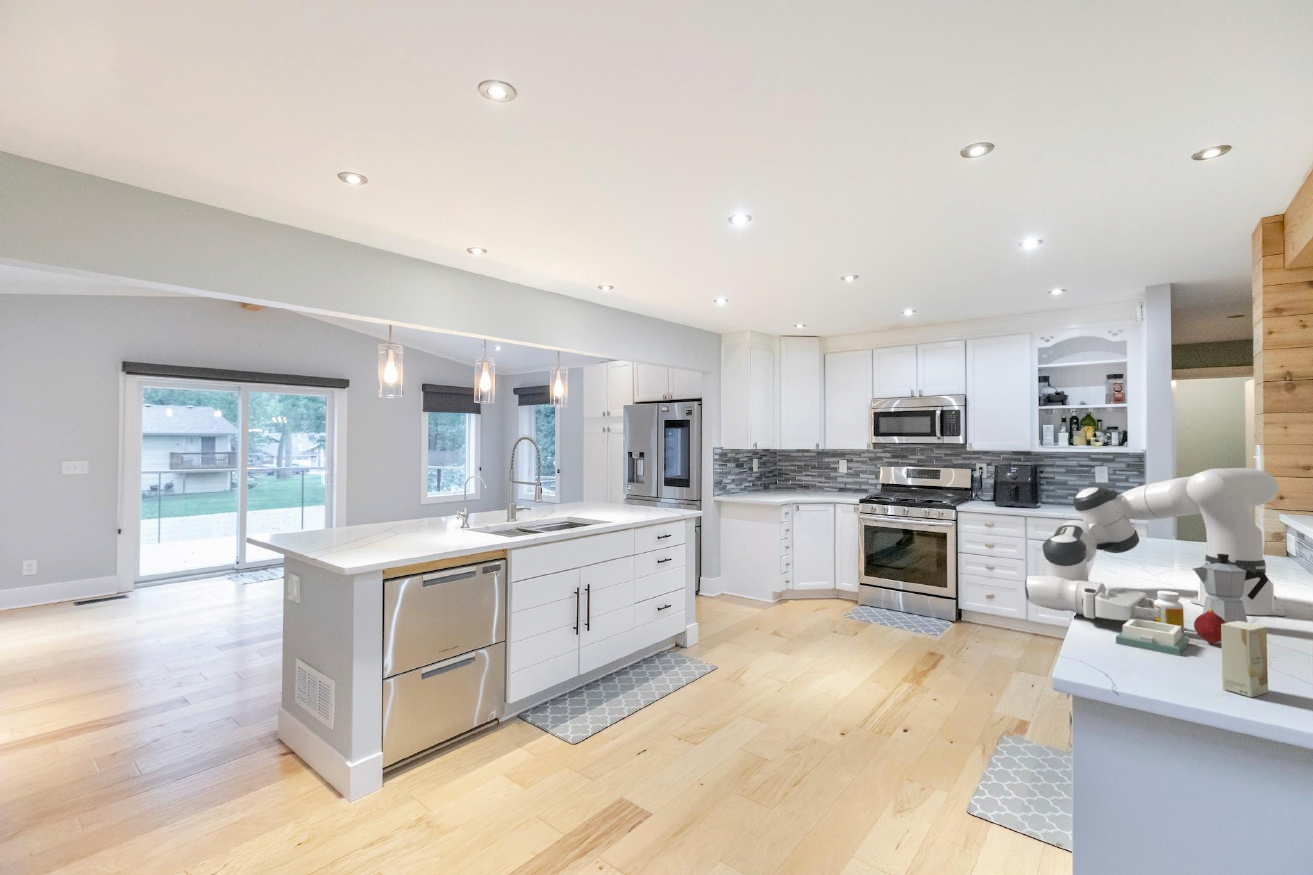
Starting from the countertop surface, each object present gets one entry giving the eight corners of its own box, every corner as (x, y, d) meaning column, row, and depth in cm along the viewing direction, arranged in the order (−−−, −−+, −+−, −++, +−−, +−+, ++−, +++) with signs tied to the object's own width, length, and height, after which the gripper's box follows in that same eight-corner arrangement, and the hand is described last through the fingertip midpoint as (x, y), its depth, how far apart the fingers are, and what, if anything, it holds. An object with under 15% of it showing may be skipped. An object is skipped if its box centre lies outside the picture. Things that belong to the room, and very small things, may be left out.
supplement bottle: (1188, 634, 142) (1187, 593, 142) (1177, 637, 140) (1176, 596, 140) (1161, 628, 147) (1160, 588, 147) (1150, 631, 145) (1149, 591, 145)
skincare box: (1252, 698, 106) (1250, 630, 106) (1221, 689, 110) (1219, 623, 110) (1270, 692, 108) (1268, 625, 109) (1239, 683, 112) (1237, 619, 113)
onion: (1236, 648, 131) (1235, 613, 132) (1206, 647, 133) (1205, 611, 133) (1217, 640, 137) (1216, 606, 137) (1188, 639, 138) (1187, 605, 138)
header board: (1128, 632, 144) (1128, 615, 144) (1188, 643, 135) (1188, 625, 135) (1115, 643, 136) (1115, 625, 136) (1178, 655, 128) (1178, 637, 128)
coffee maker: (1201, 627, 147) (1199, 555, 147) (1185, 618, 155) (1183, 549, 155) (1280, 634, 141) (1278, 558, 142) (1258, 623, 149) (1256, 552, 150)
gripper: (1105, 604, 161) (1171, 614, 151) (1083, 618, 148) (1154, 631, 137) (1104, 581, 161) (1171, 590, 151) (1083, 593, 148) (1154, 604, 138)
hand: (1163, 609), depth 144 cm, fingers open, 8 cm apart
